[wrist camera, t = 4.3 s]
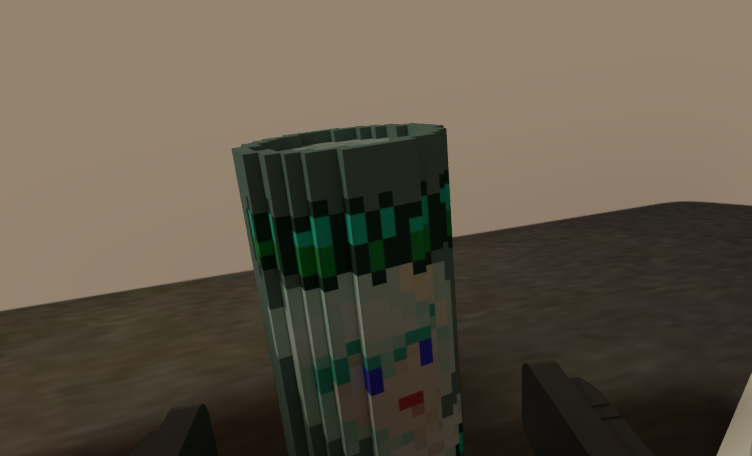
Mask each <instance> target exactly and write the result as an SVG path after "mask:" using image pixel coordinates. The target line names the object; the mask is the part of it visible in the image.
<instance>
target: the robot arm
mask: <svg viewBox="0 0 752 456" xmlns="http://www.w3.org/2000/svg"><path fill="white" fill-rule="evenodd" d="M522 418H523V424H524V429H525V432H526V435H527V438H528V440H529V442H530V444H531V446H532V448H533V450H534V452H535V454H536V455H537V456H655V455H654V454H653V453H652V452H651V451H650V449H649V448H648V447H647V446H646V445H645V444H644V442H643V441H642V440H641V439H640V438H639V437H638V435H637V434H636V433H635V432H634V431H633V430H632V428H631V427H630V426H629V425H628V424H627V423H626V421H625V420H624V419H621V415H620V414H619V413H618V412H617V411H616V410H615V408H614V407H613V406H612V407H611V405H610V403H609V401H608V400H607V399H606V398H605V397H604V396H603V394H602V393H601V392H600V391H599V390H598V389H597V388H596V387H594V386H592V385H591V384H589V383H587V382H586V381H584V380H582V379H581V378H579V377H578V378H570V379H569V378H568V376H567V375H566V374H565V373H564V371H563V370H562V369H561V368H560V366H559V365H558V364H557V363H556V361H554V360H548V361H540V362H532V363H525V364H523V366H522ZM128 456H218V452H217V447H216V443H215V439H214V435H213V430H212V426H211V422H210V418H209V413H208V410H207V407H206V406H205V405H204V404H199V405H191V406H183V407H176V408H172V409H171V410H170V411H169V413H168V415H167V417H166V419H165V421H164V423H163V425H162V426H161V428H160V430H159V431H157V432H149V433H148V434H147V435H146V436H145V437H144V438H143V439H142V440H141V441H140V442H139V443H138V444H137V445H136V446H135V447H134V448H133V449H132V450H131V451H130V453H129V455H128Z"/></svg>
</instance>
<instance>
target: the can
mask: <svg viewBox="0 0 752 456" xmlns="http://www.w3.org/2000/svg"><path fill="white" fill-rule="evenodd" d="M447 153H448V152H447V134H446V128H443V125H431V124H417V123H410V124H402V125H400V124H386V125H372V126H357V127H349V128H342V129H340V128H335V129H327V130H320V131H313V132H305V133H298V134H291V135H283V137H276V138H269V139H262V141H256V142H252V143H249V144H242V145H241V147H239V148H232V154H233V159H234V164H235V170H236V175H237V180H238V186H239V191H240V197H241V202H242V208H243V213H244V218H245V224H246V229H247V235H248V240H249V246H250V251H251V256H252V262H253V267H254V273H255V278H256V283H257V289H258V294H259V300H260V305H261V310H262V316H263V321H264V327H265V332H266V337H267V343H268V348H269V354H270V359H271V364H272V370H273V375H274V381H275V386H276V391H277V397H278V402H279V408H280V413H281V419H282V424H283V429H284V435H285V440H286V446H287V451H288V456H464V445H463V426H462V408H461V390H460V372H459V353H458V335H457V317H456V298H455V280H454V262H453V244H452V225H451V207H450V189H449V170H448V154H447Z"/></svg>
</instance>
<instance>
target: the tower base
mask: <svg viewBox="0 0 752 456" xmlns="http://www.w3.org/2000/svg"><path fill="white" fill-rule="evenodd" d="M717 456H752V374H751V376H750V378H749V381H748V383H747V385H746V388H745V390H744V392H743V395H742V397H741V399H740V402H739V404H738V406H737V409H736V411H735V413H734V416H733V418H732V420H731V423H730V425H729V428H728V430H727V432H726V435H725V437H724V439H723V442H722V444H721V446H720V449H719V451H718V453H717Z"/></svg>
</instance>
